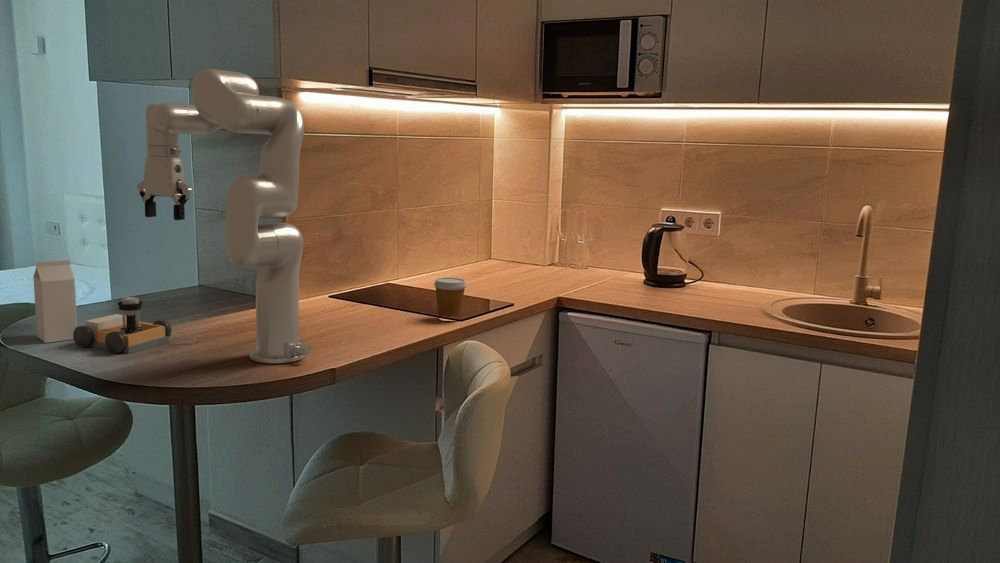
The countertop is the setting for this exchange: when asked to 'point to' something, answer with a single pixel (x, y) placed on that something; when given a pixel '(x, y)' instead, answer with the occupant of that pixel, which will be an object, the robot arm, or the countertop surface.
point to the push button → (130, 315)
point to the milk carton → (55, 301)
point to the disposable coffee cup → (449, 296)
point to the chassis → (120, 334)
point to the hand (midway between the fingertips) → (164, 218)
